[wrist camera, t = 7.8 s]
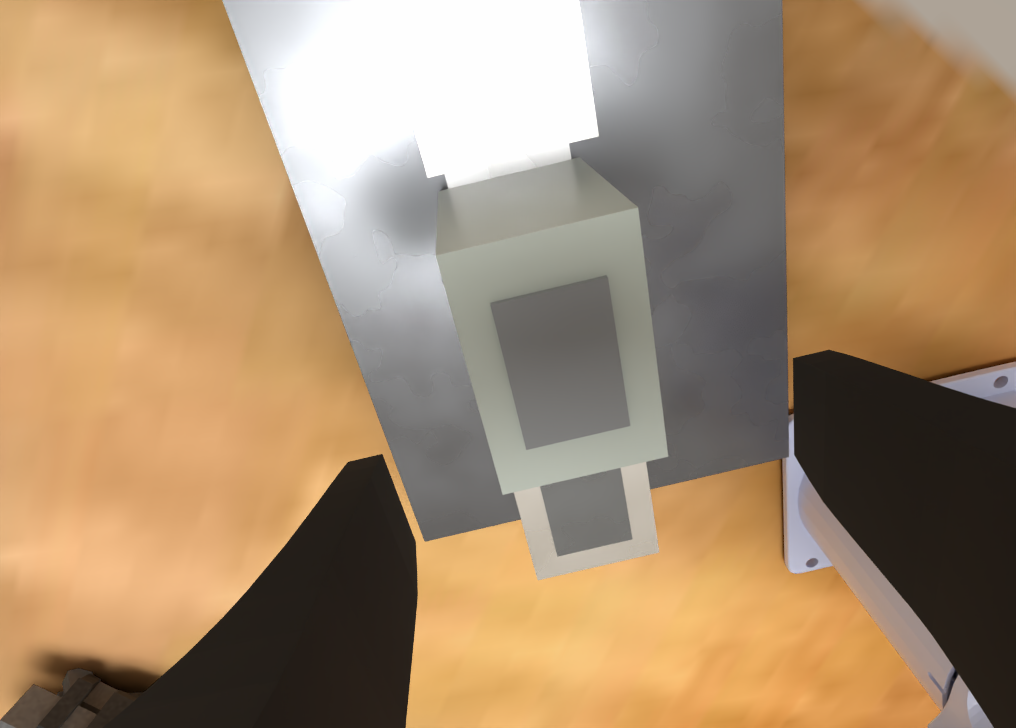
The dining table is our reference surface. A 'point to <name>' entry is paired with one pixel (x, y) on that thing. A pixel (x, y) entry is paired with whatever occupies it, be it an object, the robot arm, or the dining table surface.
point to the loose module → (553, 322)
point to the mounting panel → (522, 146)
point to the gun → (69, 704)
